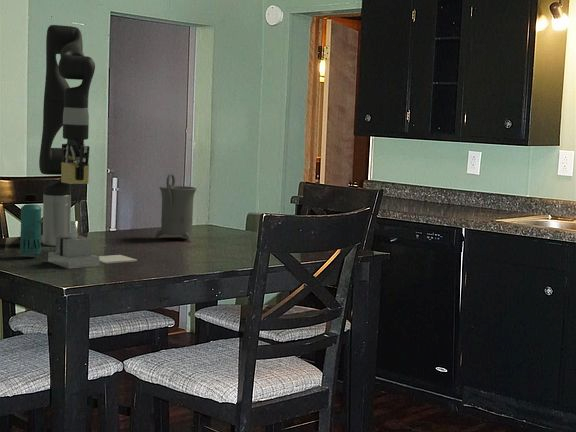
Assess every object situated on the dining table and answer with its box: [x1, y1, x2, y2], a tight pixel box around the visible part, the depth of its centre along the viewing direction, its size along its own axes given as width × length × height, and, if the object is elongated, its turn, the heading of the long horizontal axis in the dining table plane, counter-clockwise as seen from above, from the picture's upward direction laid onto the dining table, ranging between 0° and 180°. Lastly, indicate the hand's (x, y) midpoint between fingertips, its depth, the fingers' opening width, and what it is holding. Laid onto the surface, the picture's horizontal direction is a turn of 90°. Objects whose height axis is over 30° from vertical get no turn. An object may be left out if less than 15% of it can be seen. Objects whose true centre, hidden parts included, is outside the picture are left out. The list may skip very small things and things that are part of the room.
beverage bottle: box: [19, 193, 43, 255], centre depth 288 cm, size 6×7×20 cm
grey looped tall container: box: [153, 172, 197, 243], centre depth 342 cm, size 19×15×25 cm
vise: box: [47, 220, 100, 269], centre depth 280 cm, size 14×10×13 cm
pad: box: [98, 254, 138, 264], centre depth 291 cm, size 11×11×1 cm
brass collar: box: [60, 162, 90, 185], centre depth 277 cm, size 6×6×6 cm
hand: (74, 179), depth 278 cm, fingers closed on brass collar, 6 cm apart
